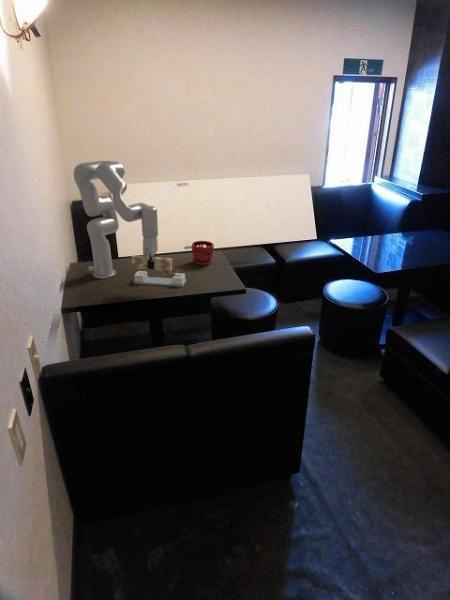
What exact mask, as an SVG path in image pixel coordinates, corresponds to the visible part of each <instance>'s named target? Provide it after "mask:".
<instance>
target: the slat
mask: <svg viewBox="0 0 450 600" xmlns="http://www.w3.org/2000/svg"><path fill="white" fill-rule="evenodd" d="M150 258H151V257H150ZM172 260H173V259H172V258H170V257H159V256H156V257H153V261H154V269H148V264H147V260H146V256H143V255H142V256H141V255H131V268H132V269H138V270H147V271H149V270H150V271H164V272H166V271H171V270H172Z"/></svg>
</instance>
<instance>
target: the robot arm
mask: <svg viewBox="0 0 450 600" xmlns="http://www.w3.org/2000/svg"><path fill="white" fill-rule="evenodd" d="M125 172H126V170H125V168H124V166H123V165H122V163H120V162H118V161H115V160H114V161H110V160H97V161H89V162H87V161H86V162H82V163H80V164H77V165H76V166H75V167H74V169H73V179H74V182H75V184H76V186H77V188H78V191H79V194H80V198H81V201H82V204H83V208H84V212H85V214H86V215H87V216H89V217H97V218H94V219H92V220H90V221H89V222H87V224H86V230H87V232H88V233H87V234H88V237H89V239H90V245H91V251H92V258H93V266H88V271H89V272H92V277H93V278H95V279H109V278H111V277H114V276H116V274H117V271H116V270H115V269H114V268H113V261H112V253H111V245H110V242H109V240H108V238H106V236H107V235H111V234H113V233H116V232H118V230H119V220H118V219H119V218H118V216H119V217H120V218H121V219H123V221H125V222H126V223H127V222H128V223H131V222H135V221H138V220H141V230H142V233H141V234H142V237H143V239H142V256H146V260H147V264H148V269H154V261H153V257H157V256H156V255H157V252H158V250H159V247H158V245H159V244H158V237H159V226H158V225H159V224H158V223H159V222H158V209H157V207H155V206H153V205H147V204H146V203H143V202H139V203H138V202H137V203H133V204H129V205H128V204H126V202H125V200H123V198H122V196H123V195H124V194H125V193H126V192H127V189H128V185H127V183H126V182H125V181H124V180H123V179H122V178H124V176H125V174H126V173H125ZM98 179H99V180H100V181H101V182H102V184H103V185H104V186H105V187H106V188H107V190H108V191H109V192H110V194H111V195H112V197H109V196H108V195H99V193H98V190H97V187H96V186H95V184H94V183H93V182H92V181H93V180H98ZM117 214H118V216H117ZM101 215H102V217H101ZM98 216H100V217H98ZM150 257H151V258H150ZM148 269H147V270H148Z"/></svg>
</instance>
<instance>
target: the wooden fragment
mask: <svg viewBox="0 0 450 600" xmlns="http://www.w3.org/2000/svg"><path fill="white" fill-rule="evenodd" d="M180 267H182V265H181V262H179V261H176V260H174V259H172V270H171V271H165V272H166V273H168V274H169V275H170V276H173V275H175V274H176V273H181V270H180Z"/></svg>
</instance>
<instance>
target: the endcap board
mask: <svg viewBox="0 0 450 600" xmlns="http://www.w3.org/2000/svg"><path fill="white" fill-rule="evenodd" d="M147 271H148V270H147ZM147 271H145V270H144V271H142V270H138V271H136V273H135V274H134V277H133V278H134V280H133V284H134V285H149V286H150V285H151V286H167V287H184V285H185V284H186V283H187V279H186V274H185V273H181V272H180V273H176V274H174V276H172V277H171V278H170V277H169V278H168V277H157V276H154V277H152V276H148V272H147Z"/></svg>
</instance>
